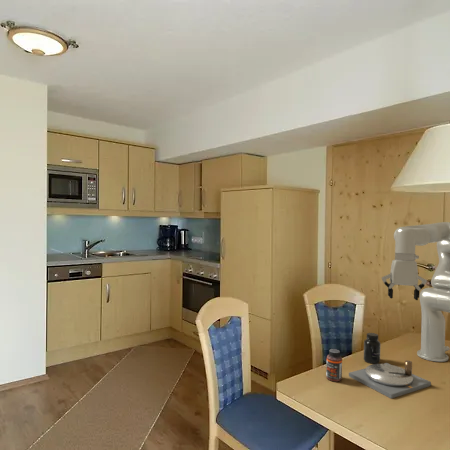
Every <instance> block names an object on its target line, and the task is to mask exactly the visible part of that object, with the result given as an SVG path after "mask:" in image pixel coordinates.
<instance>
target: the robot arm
mask: <svg viewBox="0 0 450 450" xmlns="http://www.w3.org/2000/svg"><path fill="white" fill-rule="evenodd" d="M393 239H394V241H395V244H394V259H392V261H391V266H390V273H388V274H387V275H384V276H382V277H381V280H382V283H383V284H384V285H385V286H386V287H387V296H388V298H389V299H393V298H394V297H393V296H394V289H393V287H394V286H397V285H398V286H413V287H414V290H413V299H414V300H415V301H418V300H419V304H420V309H421V327H420V328H421V330H420V333H421V334H420V349H419V350H417V352H416V354H417V356H418V357H419V358H421V359H424V360H427V361H430V362H431V361H432V362H439V363H443V362H447V361H449V355H448V354H446V352H447V351H450V347H449V346H448V345H447V346H446V344H445V343H446V319H445V316H444V314H443V312H444V313H450V222H449V221H442V222H435V223H425V224H418V225H406V226H401V227H400V226H399V227H397V228H396V229H395V231H394V233H393ZM432 243H436V251H437V257H438V264H437V266H436V268H435V271H434V273H433V275H432V277H431V281H430V284H431V286H432V287H426V288H424V287H425V285H426V284H427V282H428V280H427V279H426V278H423V277H422V276H420V275H419V271H418V270H419V268H418V262H417V261H416V260H418V259H419V258H420V257H419V255H417V254H416V246H420V247H421V246H423V247H424V246H426V245H428V244H432ZM388 279H389V283H388V281H387V280H388ZM419 280H420V281H421V283H420V284H419Z"/></svg>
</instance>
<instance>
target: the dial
mask: <svg viewBox="0 0 450 450" xmlns="http://www.w3.org/2000/svg"><path fill="white" fill-rule="evenodd" d="M388 364H389V363H388ZM388 364H384V363H377V364H373V363H371V364H369V365H367V366H366V367H365V368H366V375H367V377H368V378H370V379H371V380H373V381H375V382H377V383H380V384H384V385H388V386H396V387H402V386H408V385H411V384H412V383H413V375H412V374H413V362H412V361H411V360H405V361H404V368H403V367H401V366H398V365H393V364H390V365H388Z"/></svg>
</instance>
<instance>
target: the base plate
mask: <svg viewBox="0 0 450 450" xmlns="http://www.w3.org/2000/svg"><path fill="white" fill-rule="evenodd" d="M383 364H388V365H391V364H390V363H388V362H385V363H383ZM412 375H413V383H412V384H411V385H408V386H402V387H396V386H388V385H384V384H380V383H377V382H375V381H373V380H371V379H370V378H368V377H367V375H366V367H365V368H363V369H362V368H361V369H358V370H353V371H349V372H348V377H349V378H351V379H353V380H354V381H357V382H359V383H361V384H363V385H364V386H367V387H368V388H370V389H371V390H374V391H376V392H378V393H379V394H382V395H383V396H385V397H387V398H389V399H394V398H398V397H401V396H403V395H407V394H409V393H414V392H416V391H419V390H423V389H425V388H428V387H432V381H429V380H427V379H425V378H423V377H420V376H418V375H416V374H413V373H412Z"/></svg>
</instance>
